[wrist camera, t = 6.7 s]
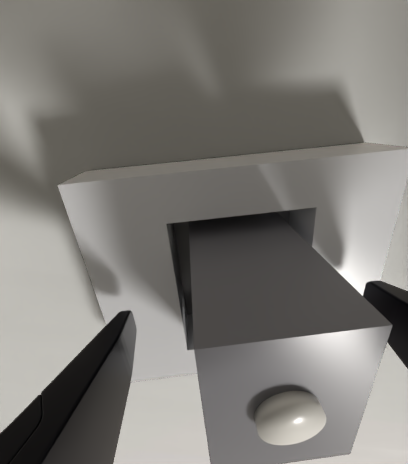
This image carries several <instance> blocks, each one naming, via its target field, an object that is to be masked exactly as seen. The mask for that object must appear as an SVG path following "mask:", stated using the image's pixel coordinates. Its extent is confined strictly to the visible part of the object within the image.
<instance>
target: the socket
mask: <svg viewBox="0 0 408 464" xmlns="http://www.w3.org/2000/svg"><path fill="white" fill-rule="evenodd" d="M407 180H408V147H402V146H393V145H384V144H375V143H356V144H346V145H336V146H327V147H317V148H307V149H297V150H287V151H277V152H268V153H258V154H248V155H238V156H228V157H219V158H209V159H199V160H189V161H179V162H170V163H160V164H150V165H140V166H130V167H120V168H111V169H101V170H91V171H85V172H83V173H81V174H79V175H77V176H75V177H73V178H71V179H69V180H67V181H65V182H63V183H61V184H59V185H58V188H59V191H60V194H61V197H62V200H63V203H64V205H65V208H66V211H67V214H68V217H69V220H70V223H71V226H72V228H73V231H74V234H75V237H76V240H77V243H78V246H79V248H80V251H81V254H82V257H83V260H84V263H85V266H86V269H87V271H88V274H89V277H90V280H91V283H92V286H93V289H94V291H95V294H96V297H97V300H98V303H99V306H100V309H101V312H102V314H103V317H104V320H105V323H106V325H107V324H108V323H109V322H110V321H111V320H112V319H113V318H114V317H115V316H116V315H117V314H118V313H119V312H120V311H126V310H131V311H132V313H133V316H134V320H135V324H136V328H137V333H136V343H135V353H134V362H133V371H132V377H131V382H139V381H146V380H154V379H162V378H170V377H177V376H185V375H193V374H197V367H196V360H195V353H194V338H193V314H192V290H191V267H190V243H189V221H196V220H205V219H214V218H224V217H233V216H242V215H251V214H260V213H269V212H277V213H278V214H279V215H280V216H281V217H282V218H283V219H284V220H285V221H286V222H287V223H288V224H289V225H290V226H291V227H292V228H293V229H294V230H295V231H296V232H297V233H298V234H299V235H300V236H301V237H302V238H304V239H305V240H306V241H307V242H308V243H309V244H310V245H311V246H312V247H313V248H314V249H315V250H316V251H317V252H318V253H319V254H320V255H321V256H322V257H323V258H324V259H325V260H326V261H327V262H328V263H329V264H330V265H331V266H332V267H333V268H334V269H335V270H336V271H338V272H339V273H340V274H341V275H342V276H343V277H344V278H345V279H346V280H347V281H348V282H349V283H350V284H351V285H352V286H353V287H354V288H355V289H356V290H357V291H358V292H359V293H360V294H361V295H362V296H363V293H364V289H365V285H366V283H367V282H369V281H376V280H379V281H381V277H382V273H383V269H384V266H385V262H386V258H387V255H388V251H389V247H390V243H391V240H392V236H393V232H394V229H395V225H396V221H397V217H398V214H399V210H400V206H401V203H402V199H403V195H404V192H405V188H406V184H407ZM131 382H130V383H131Z"/></svg>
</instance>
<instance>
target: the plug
mask: <svg viewBox="0 0 408 464" xmlns="http://www.w3.org/2000/svg"><path fill="white" fill-rule="evenodd" d="M189 243H190V267H191V290H192V314H193V338H194V353H195V360H196V367H197V374H198V381H199V387H200V394H201V401H202V408H203V415H204V422H205V428H206V435H207V442H208V449H209V456H210V463H211V464H283V463H290V462H297V461H304V460H311V459H318V458H325V457H333V456H340V455H347V454H350V453H351V450H352V447H353V444H354V441H355V438H356V435H357V432H358V429H359V426H360V423H361V420H362V417H363V414H364V411H365V408H366V405H367V402H368V398H369V395H370V392H371V389H372V386H373V383H374V380H375V377H376V374H377V371H378V368H379V365H380V362H381V359H382V356H383V353H384V350H385V347H386V344H387V341H388V338H389V335H390V332H391V329H392V326H393V325H392V324H391V323H390V322H389V321H388V320H387V319H386V318H385V317H384V316H383V315H382V314H381V313H380V312H379V311H378V310H377V309H376V308H375V307H374V306H373V305H372V304H370V303H369V302H368V301H367V300H366V299H365V298H364V297H363V296H362V295H361V294H360V293H359V292H358V291H357V290H356V289H355V288H354V287H353V286H352V285H351V284H350V283H349V282H348V281H347V280H346V279H345V278H344V277H343V276H342V275H341V274H340V273H339V272H338V271H336V270H335V269H334V268H333V267H332V266H331V265H330V264H329V263H328V262H327V261H326V260H325V259H324V258H323V257H322V256H321V255H320V254H319V253H318V252H317V251H316V250H315V249H314V248H313V247H312V246H311V245H310V244H309V243H308V242H307V241H306V240H305V239H304V238H302V237H301V236H300V235H299V234H298V233H297V232H296V231H295V230H294V229H293V228H292V227H291V226H290V225H289V224H288V223H287V222H286V221H285V220H284V219H283V218H282V217H281V216H280V215H279V214H278V213H277V212H269V213H260V214H251V215H242V216H233V217H224V218H214V219H205V220H196V221H189Z"/></svg>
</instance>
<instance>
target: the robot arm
mask: <svg viewBox="0 0 408 464" xmlns="http://www.w3.org/2000/svg"><path fill="white" fill-rule="evenodd" d="M363 297H364V298H365V299H366V300H367V301H368V302H369V303H370V304H372V305H373V306H374V307H375V308H376V309H377V310H378V311H379V312H380V313H381V314H382V315H383V316H384V317H385V318H386V319H387V320H388V321H389V322H390V323H391V324H392V325H393V326H392V329H391V332H390V335H389V338H388V341H387V342H388V343H389V345H390V346H391V348H392V349H393V350H394V351H395V353H396V354H397V355H398V357H399V358H400V359H401V361H402V362H403V363H404V365H405V366H406V367H407V369H408V291H406V290H403V289H400V288H398V287H395V286H393V285H390V284H387V283H385V282H382V281H379V280H376V281H369V282H367V283H366V285H365V289H364V293H363ZM136 333H137V328H136V324H135V320H134V316H133V313H132V311H131V310H126V311H120V312H119V313H118V314H117V315H116V316H115V317H114V318H113V319H112V320H111V321H110V322H109V323H108V324H107V325H106V326H105V327H104V328H103V329H102V330H101V331H100V332H99V333H98V334H97V335H96V336H95V337H94V339H93V340H92V341H91V342H90V343H89V344H88V345H87V346H86V347H85V348H84V349H83V350H82V351H81V352H80V353H79V354H78V355H77V356H76V357H75V358H74V359H73V360H72V361H71V362H70V363H69V364H68V365H67V366H66V367H65V368H64V370H63V371H62V372H61V373H60V374H59V375H58V376H57V377H56V378H55V379H54V380H53V381H52V382H51V383H50V384H49V385H48V386H47V387H46V388H45V389H44V390H43V391H42V393H41V395H38V396H37V397H36V398H35V399H34V400H33V401H32V403H31V404H30V405H29V406H28V407H27V408H26V409H25V410H24V411H23V412H22V413H21V414H20V415H19V416H18V417H17V418H16V419H15V420H14V421H13V422H12V423H11V424H10V425H9V426H8V427H7V428H5V429H4V430H3V431H2V432H1V433H0V464H113V462H114V457H115V452H116V448H117V443H118V438H119V434H120V429H121V424H122V420H123V415H124V410H125V406H126V401H127V396H128V392H129V387H130V382H131V377H132V371H133V362H134V353H135V343H136Z"/></svg>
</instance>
